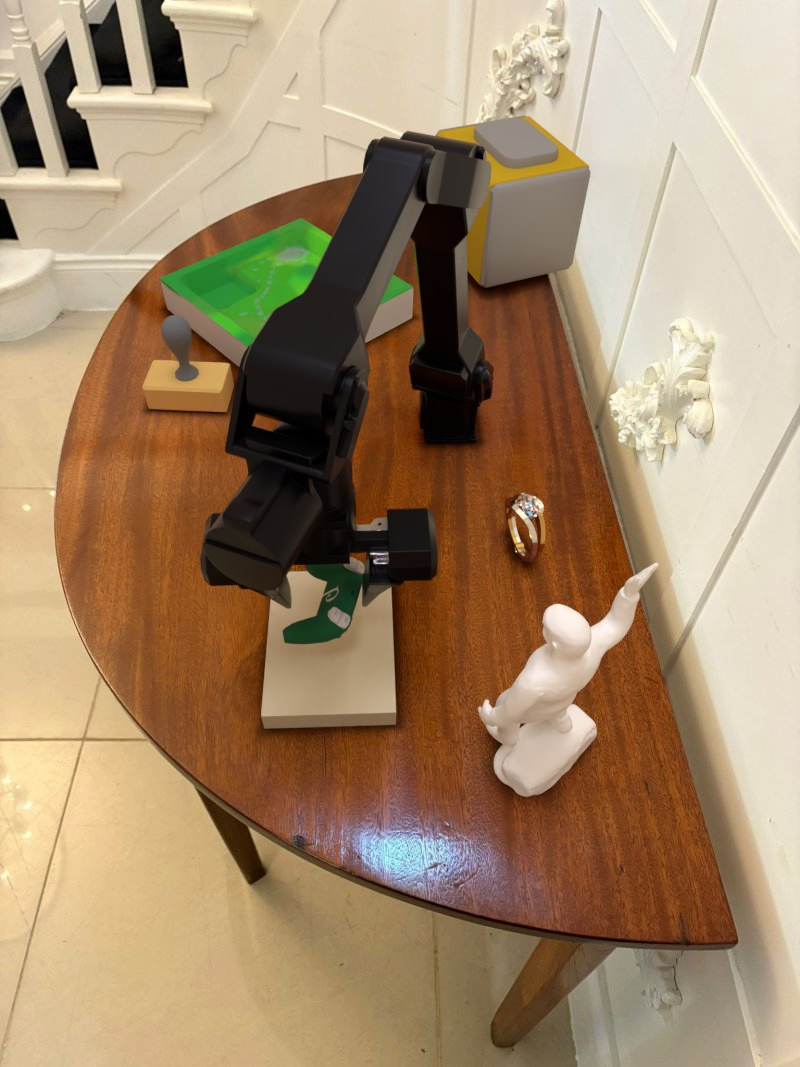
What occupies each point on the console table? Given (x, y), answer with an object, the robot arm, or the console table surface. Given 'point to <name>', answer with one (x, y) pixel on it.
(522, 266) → the alarm clock
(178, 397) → the rubber stamp
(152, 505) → the console table surface
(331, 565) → the green curved piece
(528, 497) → the ring
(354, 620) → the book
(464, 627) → the console table surface
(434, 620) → the console table surface
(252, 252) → the tray
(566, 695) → the figurine
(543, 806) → the console table surface
